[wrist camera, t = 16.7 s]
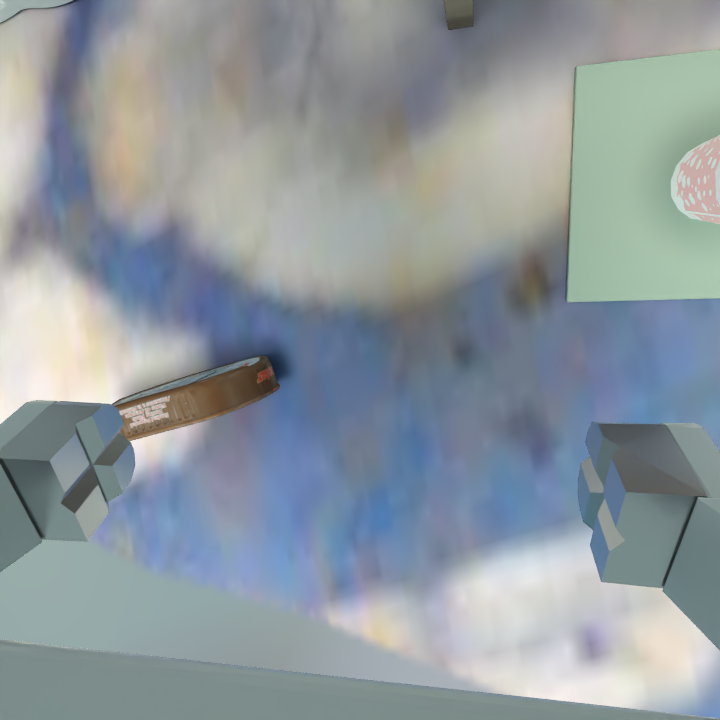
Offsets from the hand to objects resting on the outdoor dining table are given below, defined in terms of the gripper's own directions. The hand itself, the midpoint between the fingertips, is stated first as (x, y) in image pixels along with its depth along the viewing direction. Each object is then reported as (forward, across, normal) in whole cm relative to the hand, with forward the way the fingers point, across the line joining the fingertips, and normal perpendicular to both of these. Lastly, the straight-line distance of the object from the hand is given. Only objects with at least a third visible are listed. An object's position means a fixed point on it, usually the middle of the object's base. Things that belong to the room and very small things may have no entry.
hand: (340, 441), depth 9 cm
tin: (+27, +17, +17) cm, 36 cm away
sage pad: (+28, -18, +2) cm, 33 cm away
